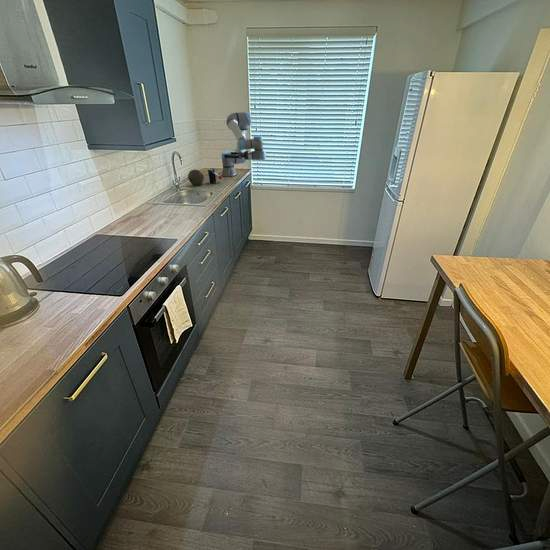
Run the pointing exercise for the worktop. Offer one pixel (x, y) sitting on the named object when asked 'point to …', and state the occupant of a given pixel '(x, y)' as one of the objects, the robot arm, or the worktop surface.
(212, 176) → the switch bracket
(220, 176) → the lever
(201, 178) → the cantaloupe
